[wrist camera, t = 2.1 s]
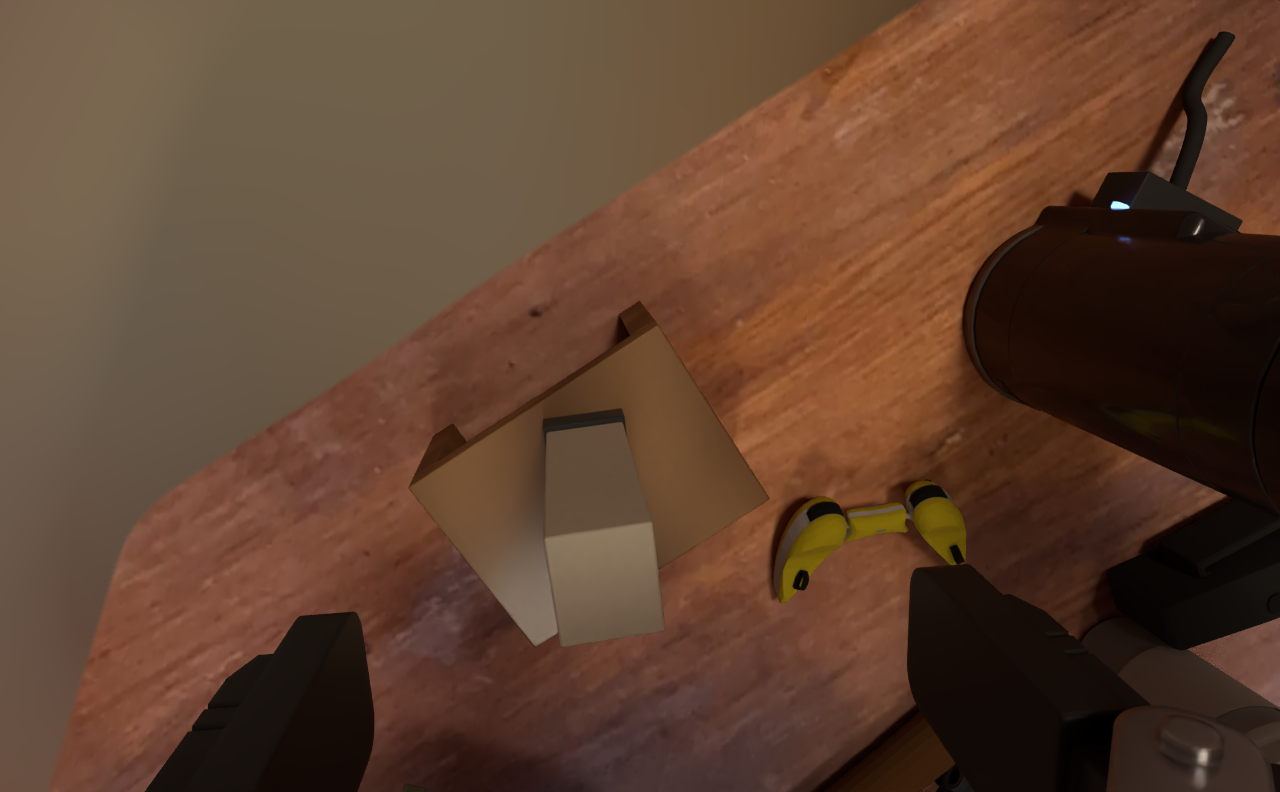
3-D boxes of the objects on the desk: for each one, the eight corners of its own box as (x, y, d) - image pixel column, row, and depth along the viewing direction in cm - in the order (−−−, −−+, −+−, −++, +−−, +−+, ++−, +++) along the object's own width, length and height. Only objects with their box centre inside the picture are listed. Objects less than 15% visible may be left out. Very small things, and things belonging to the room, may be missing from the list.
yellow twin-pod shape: (957, 451, 41) (990, 499, 38) (938, 537, 45) (967, 586, 42) (767, 481, 40) (787, 532, 38) (765, 566, 44) (783, 617, 41)
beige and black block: (542, 418, 32) (538, 531, 22) (621, 407, 32) (655, 514, 22) (566, 576, 34) (573, 751, 23) (641, 564, 34) (681, 733, 24)
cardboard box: (639, 300, 38) (658, 324, 32) (734, 448, 41) (770, 499, 34) (432, 436, 39) (407, 487, 32) (537, 573, 41) (535, 648, 35)
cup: (1039, 694, 46) (1200, 862, 35) (1079, 590, 45) (1261, 730, 33) (1146, 711, 47) (1337, 879, 36) (1189, 610, 46) (1402, 752, 34)
